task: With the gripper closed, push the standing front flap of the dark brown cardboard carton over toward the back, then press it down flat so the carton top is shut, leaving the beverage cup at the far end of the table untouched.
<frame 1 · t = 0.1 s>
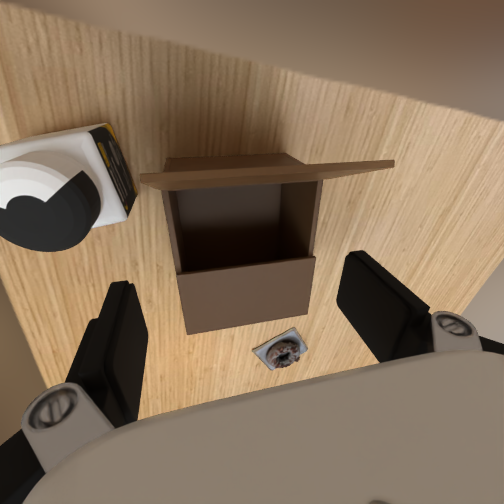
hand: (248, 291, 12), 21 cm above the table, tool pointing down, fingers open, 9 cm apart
front flap: (261, 177, 16), point 14 cm above the table, hinge at 110.0°
donut: (280, 347, 47), on the table
carton: (231, 219, 32), on the table
medicine bottle: (89, 167, 26), on the table
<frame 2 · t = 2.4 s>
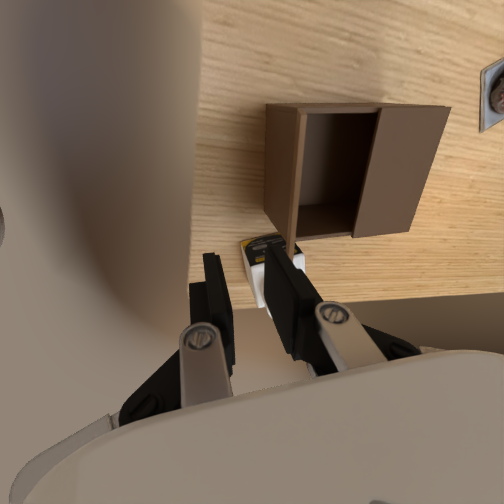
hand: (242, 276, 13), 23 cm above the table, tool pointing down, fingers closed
front flap: (293, 199, 22), point 14 cm above the table, hinge at 110.0°
donut: (502, 89, 36), on the table
carton: (319, 159, 35), on the table
medicine bottle: (265, 254, 41), on the table
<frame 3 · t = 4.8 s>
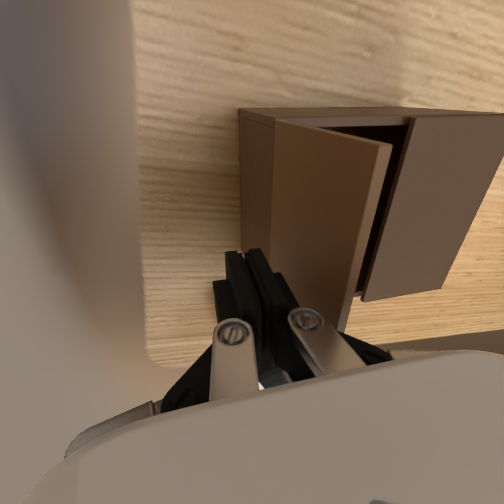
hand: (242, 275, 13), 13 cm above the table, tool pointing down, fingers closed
front flap: (298, 274, 13), point 14 cm above the table, hinge at 87.6°, touching gripper
carton: (315, 183, 26), on the table
medicine bottle: (247, 301, 32), on the table
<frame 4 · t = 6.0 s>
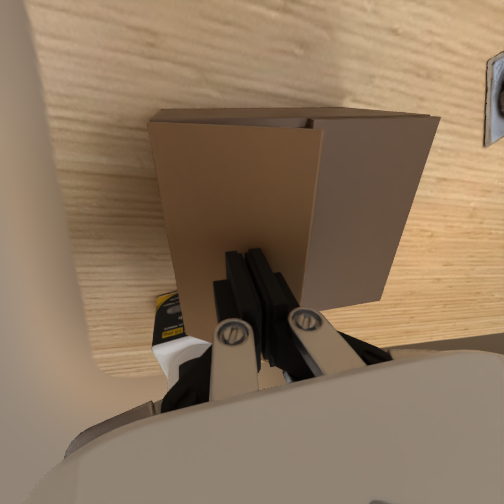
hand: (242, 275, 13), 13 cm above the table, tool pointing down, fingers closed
front flap: (232, 265, 13), point 12 cm above the table, hinge at 34.6°, touching gripper
carton: (257, 187, 24), on the table
medicine bottle: (197, 309, 30), on the table
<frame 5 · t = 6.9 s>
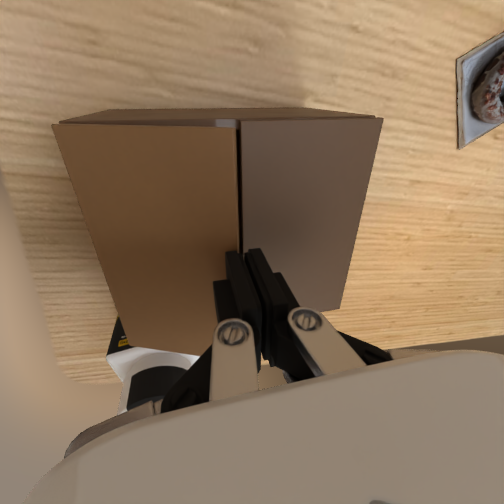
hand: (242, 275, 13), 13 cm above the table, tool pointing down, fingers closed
front flap: (167, 266, 13), point 12 cm above the table, hinge at 22.8°, touching gripper
donut: (489, 87, 25), on the table
carton: (219, 190, 24), on the table
medicine bottle: (165, 314, 30), on the table
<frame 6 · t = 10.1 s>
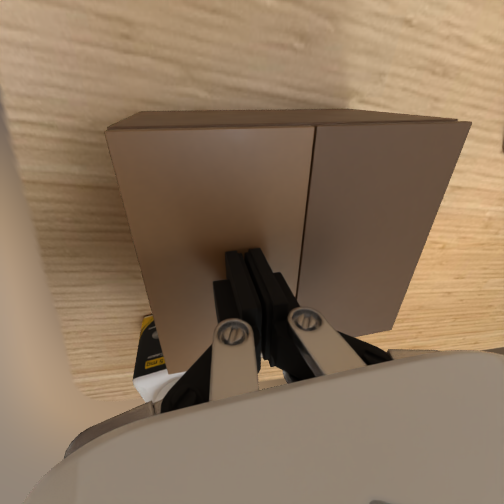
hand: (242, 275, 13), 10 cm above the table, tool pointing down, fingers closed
front flap: (225, 274, 13), point 10 cm above the table, hinge at 1.4°, touching gripper
carton: (252, 198, 22), on the table
medicine bottle: (188, 329, 28), on the table
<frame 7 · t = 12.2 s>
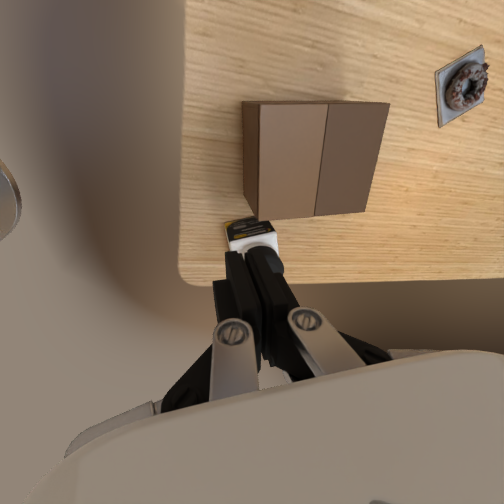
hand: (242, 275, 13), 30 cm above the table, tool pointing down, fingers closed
front flap: (289, 167, 31), point 10 cm above the table, hinge at 1.2°
donut: (457, 88, 40), on the table
carton: (291, 150, 40), on the table
medicine bottle: (247, 235, 46), on the table
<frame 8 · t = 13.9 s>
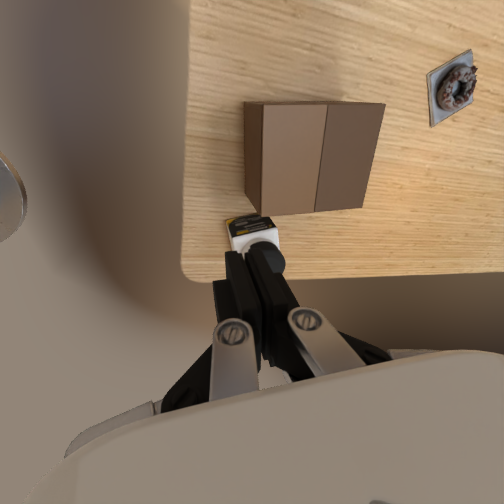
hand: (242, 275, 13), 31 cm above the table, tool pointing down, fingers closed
front flap: (291, 165, 32), point 10 cm above the table, hinge at 1.2°
donut: (447, 90, 42), on the table
carton: (291, 149, 41), on the table
medicine bottle: (248, 232, 47), on the table
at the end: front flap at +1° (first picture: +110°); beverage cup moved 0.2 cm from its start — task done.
